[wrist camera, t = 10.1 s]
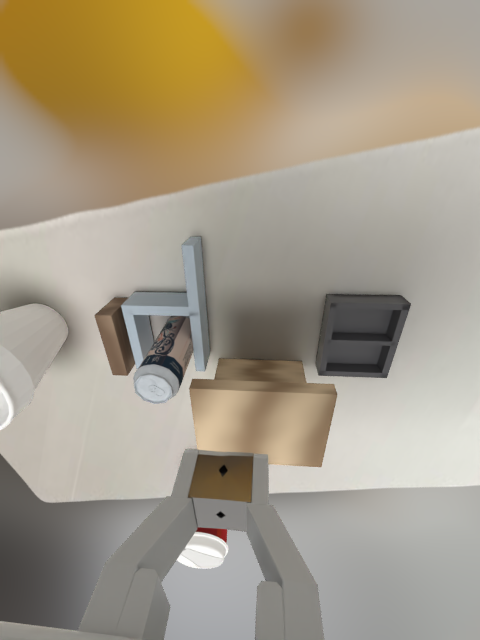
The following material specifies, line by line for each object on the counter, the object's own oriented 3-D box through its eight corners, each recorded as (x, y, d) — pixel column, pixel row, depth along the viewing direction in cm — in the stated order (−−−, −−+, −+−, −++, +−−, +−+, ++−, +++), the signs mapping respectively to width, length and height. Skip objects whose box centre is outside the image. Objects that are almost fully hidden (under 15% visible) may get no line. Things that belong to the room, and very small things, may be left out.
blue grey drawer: (200, 236, 31) (193, 245, 28) (209, 353, 39) (205, 371, 36) (122, 236, 32) (105, 244, 28) (147, 351, 40) (136, 368, 36)
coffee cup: (184, 458, 52) (158, 555, 39) (210, 439, 49) (192, 538, 36) (218, 478, 54) (204, 575, 41) (245, 460, 51) (240, 560, 38)
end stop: (129, 297, 36) (111, 315, 32) (142, 353, 40) (127, 375, 36) (114, 297, 36) (94, 315, 32) (128, 352, 40) (112, 375, 36)
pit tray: (401, 295, 33) (410, 304, 31) (379, 366, 39) (386, 377, 36) (326, 294, 34) (330, 302, 32) (315, 364, 39) (318, 375, 37)
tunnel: (308, 308, 35) (337, 394, 22) (301, 367, 40) (321, 467, 26) (215, 307, 36) (189, 388, 22) (219, 364, 40) (198, 460, 27)
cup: (36, 268, 35) (-81, 319, 23) (104, 338, 39) (37, 411, 28) (-18, 310, 39) (-142, 374, 27) (51, 370, 43) (-29, 446, 31)
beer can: (177, 306, 36) (144, 362, 26) (206, 327, 37) (185, 388, 27) (159, 329, 38) (121, 390, 28) (187, 348, 39) (161, 413, 29)
